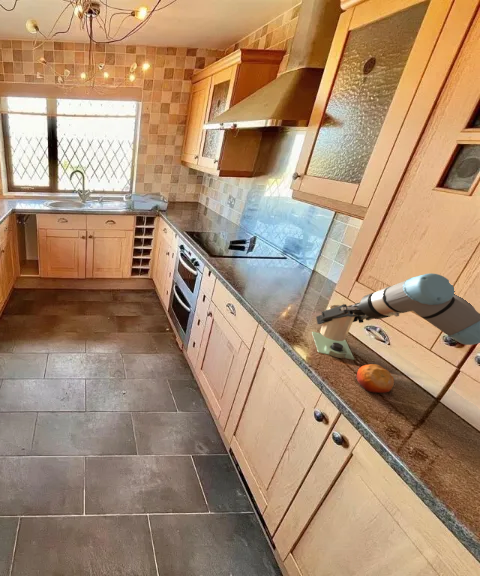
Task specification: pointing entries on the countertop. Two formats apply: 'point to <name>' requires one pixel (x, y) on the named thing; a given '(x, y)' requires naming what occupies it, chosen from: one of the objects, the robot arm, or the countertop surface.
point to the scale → (326, 344)
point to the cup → (337, 327)
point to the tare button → (337, 347)
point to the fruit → (375, 378)
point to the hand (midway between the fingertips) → (329, 320)
